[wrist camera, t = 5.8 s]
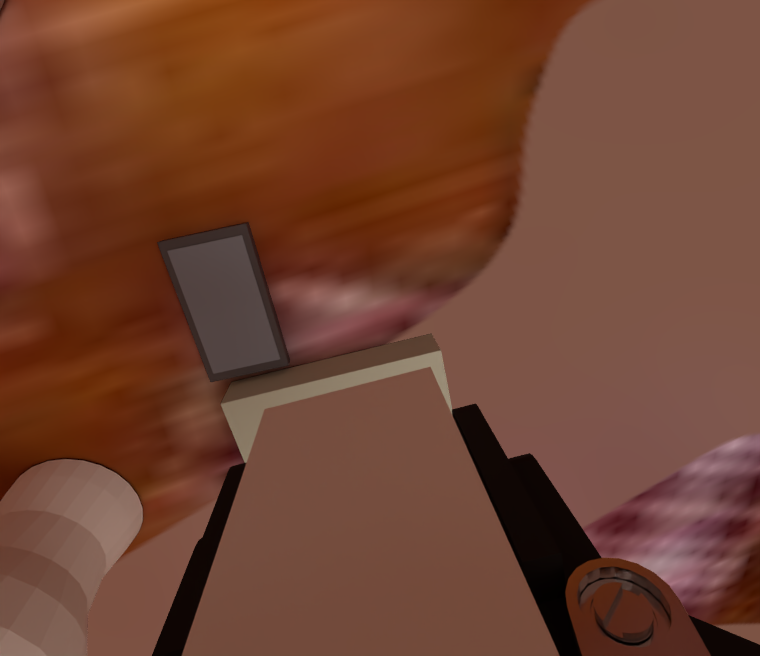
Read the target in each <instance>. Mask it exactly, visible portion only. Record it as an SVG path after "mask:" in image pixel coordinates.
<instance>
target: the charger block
mask: <svg viewBox="0 0 760 656" xmlns="http://www.w3.org/2000/svg"><path fill="white" fill-rule="evenodd" d="M182 656H560V655H559V653H558V651H557V649H556V646H555V644H554V642H553V640H552V637H551V635H550V633H549V631H548V629H547V626H546V624H545V622H544V620H543V617H542V615H541V613H540V611H539V608H538V606H537V604H536V602H535V599H534V597H533V595H532V593H531V590H530V588H529V586H528V584H527V582H526V579H525V577H524V575H523V573H522V570H521V568H520V566H519V564H518V561H517V559H516V557H515V555H514V552H513V550H512V548H511V546H510V543H509V541H508V539H507V537H506V535H505V532H504V530H503V528H502V526H501V523H500V521H499V519H498V517H497V514H496V512H495V510H494V508H493V505H492V503H491V501H490V499H489V496H488V494H487V492H486V490H485V488H484V485H483V483H482V481H481V479H480V476H479V474H478V472H477V470H476V467H475V465H474V463H473V461H472V458H471V456H470V454H469V452H468V449H467V447H466V445H465V443H464V441H463V438H462V436H461V434H460V432H459V429H458V427H457V425H456V423H455V420H454V418H453V416H452V414H451V411H450V409H449V407H448V405H447V402H446V400H445V398H444V396H443V394H442V391H441V389H440V387H439V385H438V382H437V380H436V378H435V376H434V373H433V371H432V369H431V367H427V368H423V369H419V370H415V371H411V372H407V373H403V374H400V375H396V376H392V377H388V378H384V379H380V380H376V381H372V382H368V383H365V384H361V385H357V386H353V387H349V388H345V389H341V390H337V391H333V392H330V393H326V394H322V395H318V396H314V397H310V398H306V399H302V400H298V401H295V402H291V403H287V404H283V405H279V406H275V407H271V408H267V409H264V412H263V415H262V418H261V421H260V424H259V427H258V430H257V433H256V436H255V439H254V442H253V445H252V448H251V451H250V454H249V457H248V460H247V463H246V466H245V469H244V472H243V475H242V478H241V481H240V484H239V487H238V490H237V493H236V496H235V499H234V502H233V505H232V508H231V511H230V514H229V516H228V519H227V522H226V525H225V528H224V531H223V534H222V537H221V540H220V543H219V546H218V549H217V552H216V555H215V558H214V561H213V564H212V567H211V570H210V573H209V576H208V579H207V582H206V585H205V588H204V591H203V594H202V597H201V600H200V603H199V606H198V609H197V612H196V615H195V618H194V621H193V624H192V627H191V629H190V632H189V635H188V638H187V641H186V644H185V647H184V650H183V653H182Z"/></svg>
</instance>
